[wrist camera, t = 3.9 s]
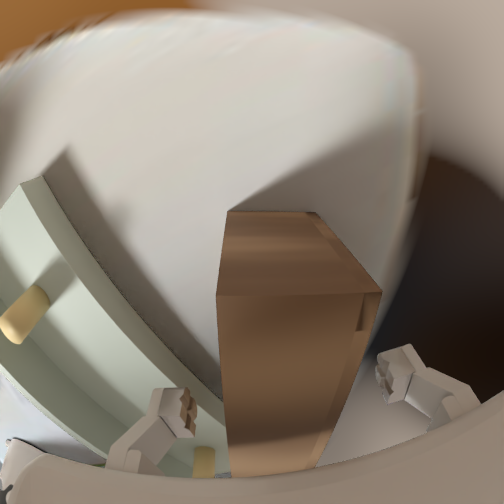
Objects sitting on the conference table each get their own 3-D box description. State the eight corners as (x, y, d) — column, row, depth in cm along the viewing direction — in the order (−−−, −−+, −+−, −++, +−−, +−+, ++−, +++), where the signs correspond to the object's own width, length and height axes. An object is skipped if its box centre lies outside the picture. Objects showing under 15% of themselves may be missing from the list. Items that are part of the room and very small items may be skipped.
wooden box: (291, 388, 18) (308, 479, 11) (232, 390, 17) (232, 483, 11) (315, 212, 13) (382, 291, 6) (227, 211, 13) (215, 295, 6)
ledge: (272, 443, 21) (277, 493, 16) (198, 460, 22) (196, 504, 17) (42, 175, 11) (-27, 203, 7) (-14, 248, 13) (-62, 284, 8)
